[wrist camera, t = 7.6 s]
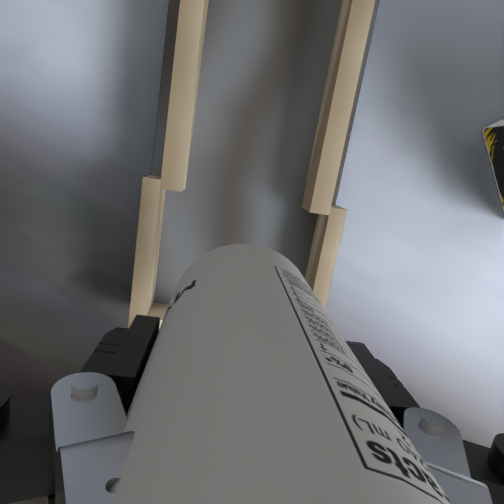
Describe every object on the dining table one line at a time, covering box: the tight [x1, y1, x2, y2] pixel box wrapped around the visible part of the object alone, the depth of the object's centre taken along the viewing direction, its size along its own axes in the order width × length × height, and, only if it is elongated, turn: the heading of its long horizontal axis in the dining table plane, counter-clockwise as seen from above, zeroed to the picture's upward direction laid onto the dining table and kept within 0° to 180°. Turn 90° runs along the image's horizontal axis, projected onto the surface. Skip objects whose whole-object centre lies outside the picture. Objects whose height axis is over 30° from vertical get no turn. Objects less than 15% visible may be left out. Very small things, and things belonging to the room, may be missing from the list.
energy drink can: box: [108, 244, 451, 504], centre depth 10 cm, size 6×6×15 cm
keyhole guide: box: [128, 0, 379, 329], centre depth 23 cm, size 12×24×4 cm, turn 171°
